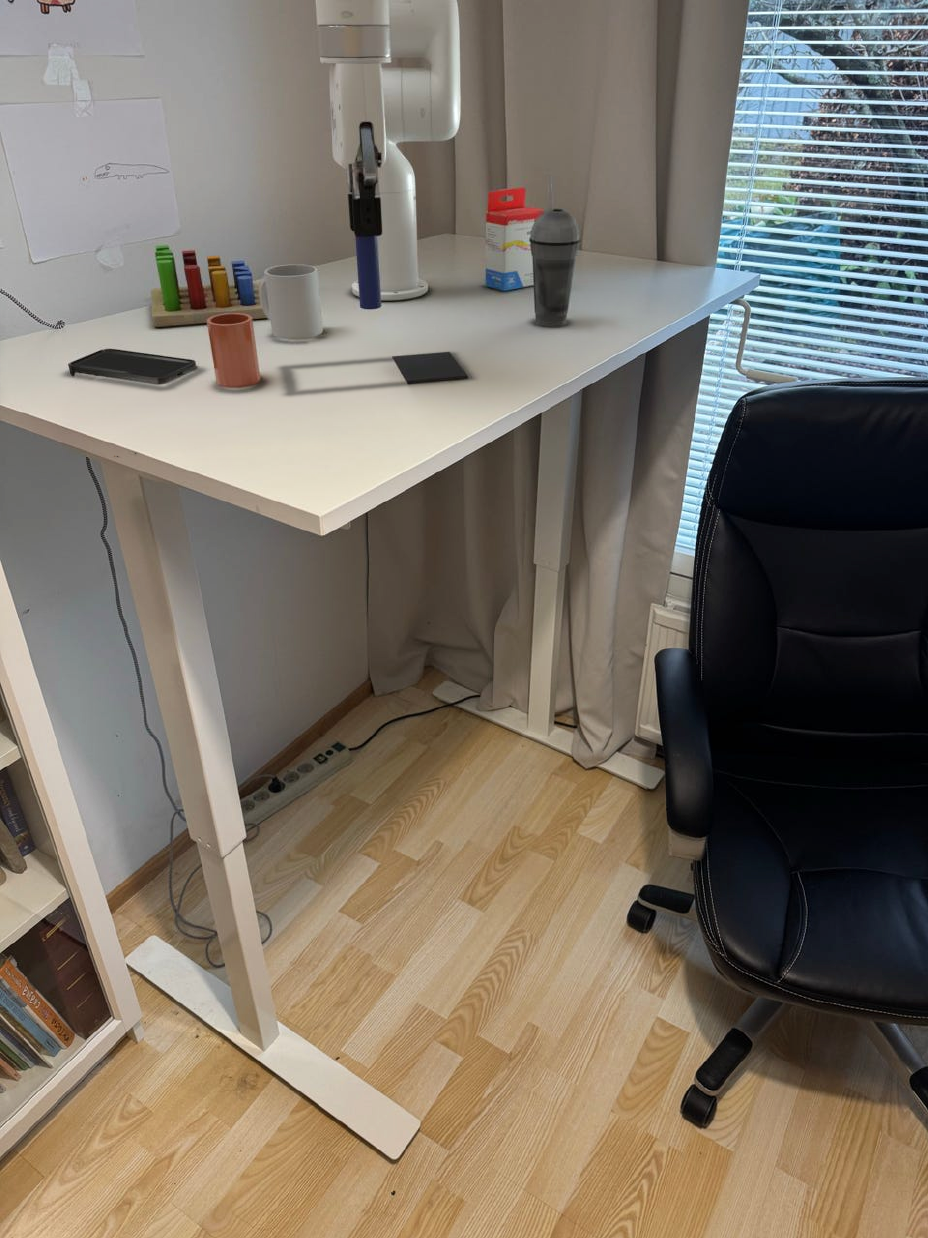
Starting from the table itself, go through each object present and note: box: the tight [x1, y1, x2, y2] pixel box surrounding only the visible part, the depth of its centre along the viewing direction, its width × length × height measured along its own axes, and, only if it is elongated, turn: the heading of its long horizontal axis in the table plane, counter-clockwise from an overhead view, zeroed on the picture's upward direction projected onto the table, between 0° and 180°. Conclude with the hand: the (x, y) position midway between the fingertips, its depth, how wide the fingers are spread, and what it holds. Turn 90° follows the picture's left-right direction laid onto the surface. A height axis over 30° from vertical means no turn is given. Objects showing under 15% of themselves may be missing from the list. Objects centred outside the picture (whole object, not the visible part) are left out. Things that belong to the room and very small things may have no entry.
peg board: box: [150, 244, 268, 328], centre depth 137 cm, size 18×17×9 cm
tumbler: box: [206, 313, 261, 389], centre depth 108 cm, size 5×5×8 cm
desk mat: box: [391, 351, 469, 385], centre depth 114 cm, size 10×22×1 cm, turn 104°
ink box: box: [485, 186, 544, 292], centre depth 147 cm, size 8×5×15 cm, turn 129°
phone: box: [67, 348, 197, 385], centre depth 114 cm, size 8×1×15 cm
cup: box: [259, 263, 324, 340], centre depth 126 cm, size 7×10×9 cm
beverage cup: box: [529, 172, 581, 328], centre depth 127 cm, size 7×7×20 cm
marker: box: [351, 185, 382, 311], centre depth 105 cm, size 3×3×14 cm
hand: (366, 231), depth 104 cm, fingers closed on marker, 2 cm apart
